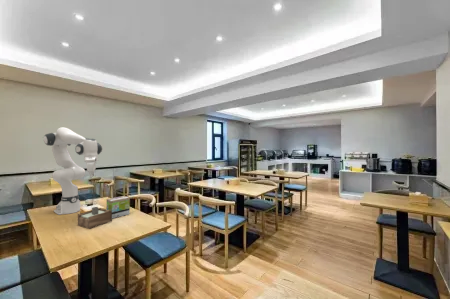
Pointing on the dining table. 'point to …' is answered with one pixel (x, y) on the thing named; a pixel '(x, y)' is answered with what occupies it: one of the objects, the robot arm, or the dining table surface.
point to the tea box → (119, 206)
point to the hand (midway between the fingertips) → (92, 176)
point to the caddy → (95, 219)
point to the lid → (92, 213)
